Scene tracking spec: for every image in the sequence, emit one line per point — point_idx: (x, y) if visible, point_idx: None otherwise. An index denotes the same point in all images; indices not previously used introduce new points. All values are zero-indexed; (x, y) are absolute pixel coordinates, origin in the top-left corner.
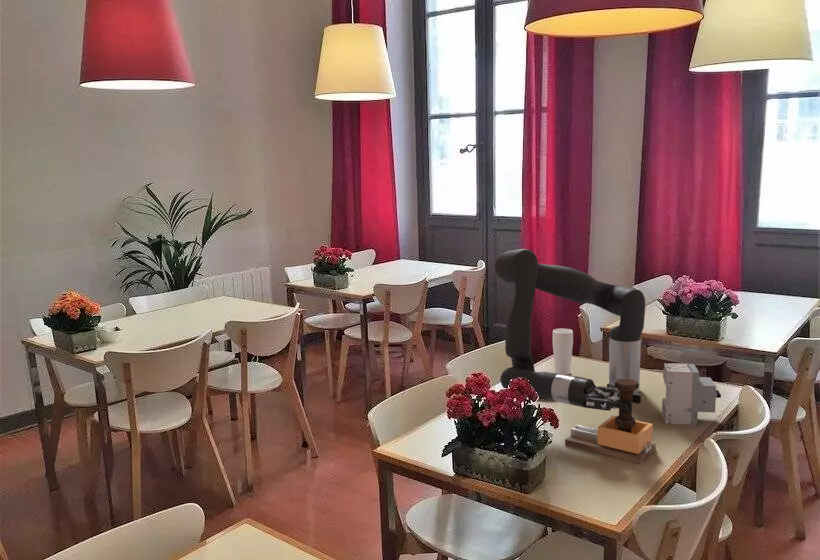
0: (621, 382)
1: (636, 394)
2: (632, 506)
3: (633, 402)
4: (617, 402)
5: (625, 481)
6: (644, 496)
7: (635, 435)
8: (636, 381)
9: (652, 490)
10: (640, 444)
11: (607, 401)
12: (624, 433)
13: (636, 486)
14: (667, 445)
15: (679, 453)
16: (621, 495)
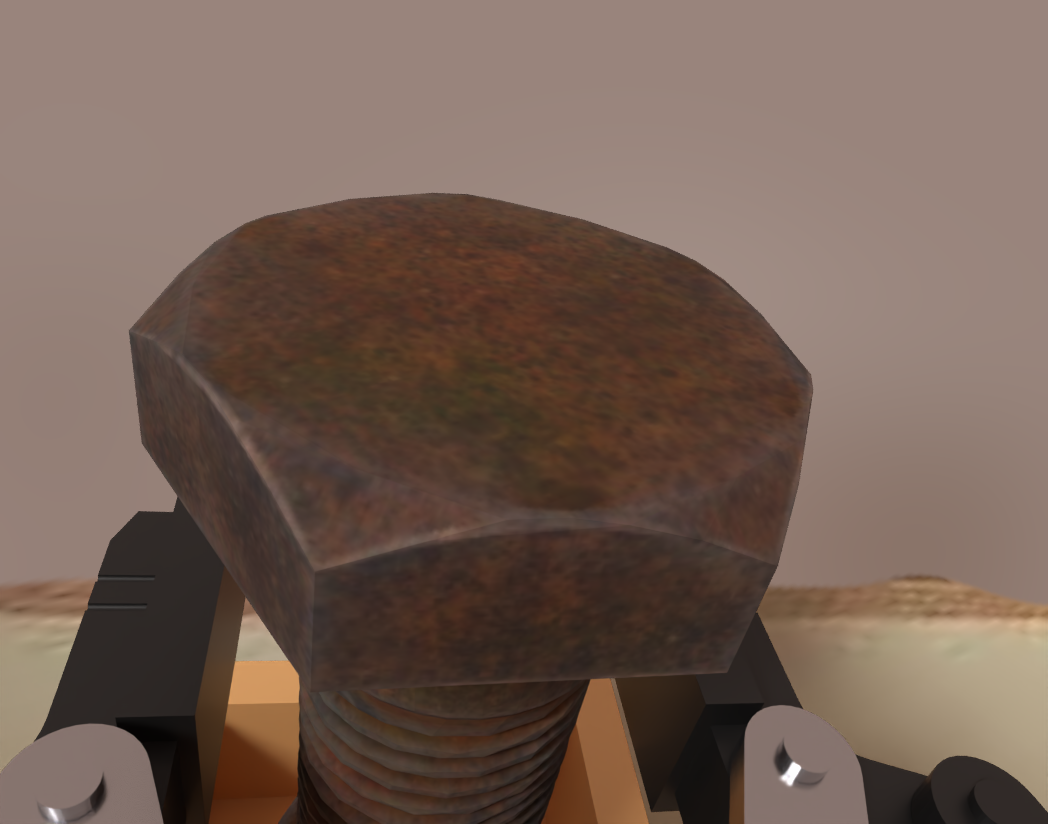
0: (686, 376)
1: (193, 522)
2: (1032, 619)
3: (231, 674)
4: (791, 688)
5: (875, 760)
6: (900, 609)
7: (605, 693)
8: (327, 204)
9: (809, 600)
10: None
11: (1045, 810)
12: (645, 815)
13: (857, 680)
14: (8, 754)
15: None
16: (1021, 705)
